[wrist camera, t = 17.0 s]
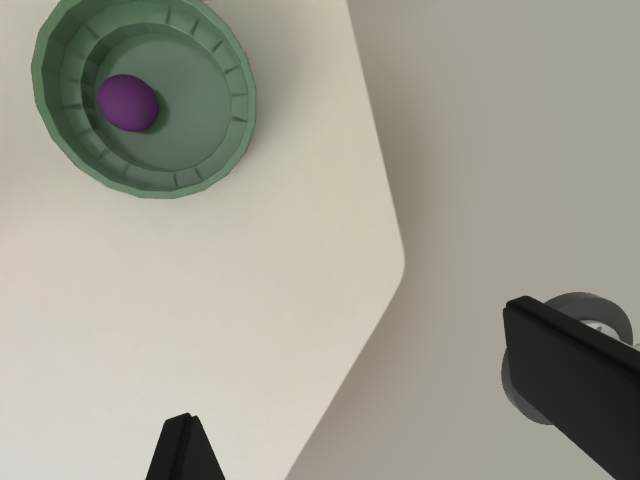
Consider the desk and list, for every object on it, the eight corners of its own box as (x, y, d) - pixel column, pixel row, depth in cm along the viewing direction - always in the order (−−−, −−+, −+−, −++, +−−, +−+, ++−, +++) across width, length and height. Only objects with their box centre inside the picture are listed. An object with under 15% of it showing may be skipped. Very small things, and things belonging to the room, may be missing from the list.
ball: (156, 66, 25) (93, 64, 23) (171, 122, 26) (112, 126, 23) (143, 84, 28) (86, 84, 26) (157, 134, 29) (103, 139, 26)
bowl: (223, -9, 27) (218, -43, 23) (274, 167, 31) (279, 169, 27) (34, 29, 25) (-14, 1, 21) (115, 211, 30) (90, 222, 25)
